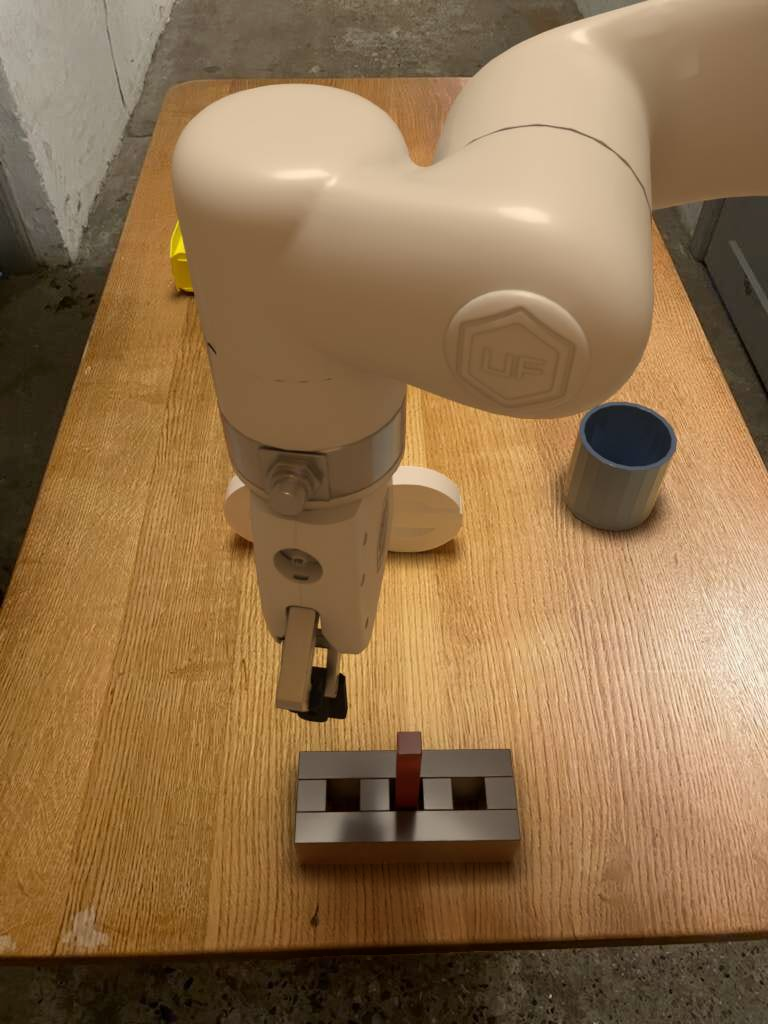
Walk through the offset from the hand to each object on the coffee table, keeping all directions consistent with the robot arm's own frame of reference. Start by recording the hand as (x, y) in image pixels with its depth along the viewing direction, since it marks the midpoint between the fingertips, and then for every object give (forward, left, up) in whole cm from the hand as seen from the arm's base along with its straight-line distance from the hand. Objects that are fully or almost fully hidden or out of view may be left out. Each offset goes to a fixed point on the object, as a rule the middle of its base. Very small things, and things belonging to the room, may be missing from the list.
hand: (334, 633), depth 48 cm
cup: (+19, -35, -24) cm, 46 cm away
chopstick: (-4, -3, -24) cm, 24 cm away
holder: (-4, -3, -24) cm, 24 cm away
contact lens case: (+23, -8, -24) cm, 34 cm away
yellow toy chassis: (+74, -6, -24) cm, 78 cm away
